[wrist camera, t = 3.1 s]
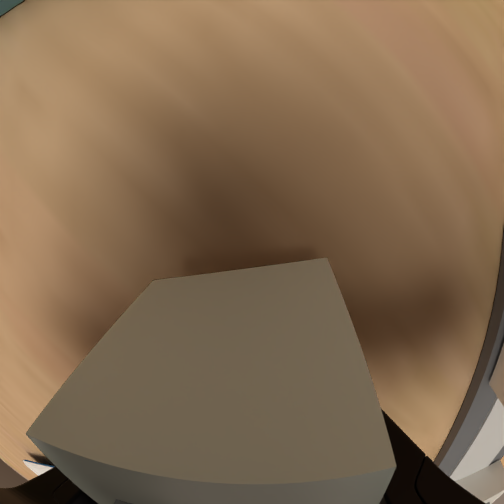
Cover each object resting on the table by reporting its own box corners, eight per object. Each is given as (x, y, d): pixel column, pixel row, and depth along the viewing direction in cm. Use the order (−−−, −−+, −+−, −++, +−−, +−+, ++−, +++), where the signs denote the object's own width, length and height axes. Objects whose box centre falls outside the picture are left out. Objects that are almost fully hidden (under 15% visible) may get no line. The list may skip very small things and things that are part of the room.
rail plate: (588, 210, 7) (599, 214, 6) (471, 485, 16) (473, 491, 15) (504, 224, 8) (518, 231, 7) (400, 512, 18) (401, 519, 17)
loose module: (327, 257, 8) (400, 482, 2) (334, 422, 10) (346, 563, 4) (153, 280, 8) (19, 441, 3) (211, 429, 11) (178, 558, 5)
